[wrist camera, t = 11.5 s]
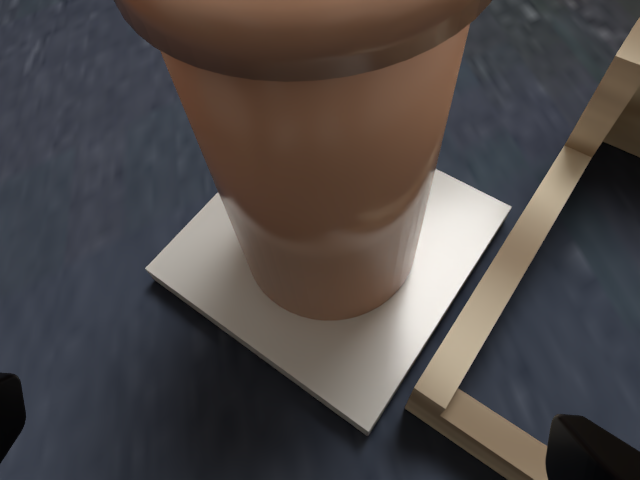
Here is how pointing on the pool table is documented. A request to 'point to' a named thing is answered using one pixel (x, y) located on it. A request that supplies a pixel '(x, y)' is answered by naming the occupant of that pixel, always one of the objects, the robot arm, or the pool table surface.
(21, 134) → the pool table surface
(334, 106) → the terracotta pot
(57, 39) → the pool table surface
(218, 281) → the paving tile
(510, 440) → the cold frame
